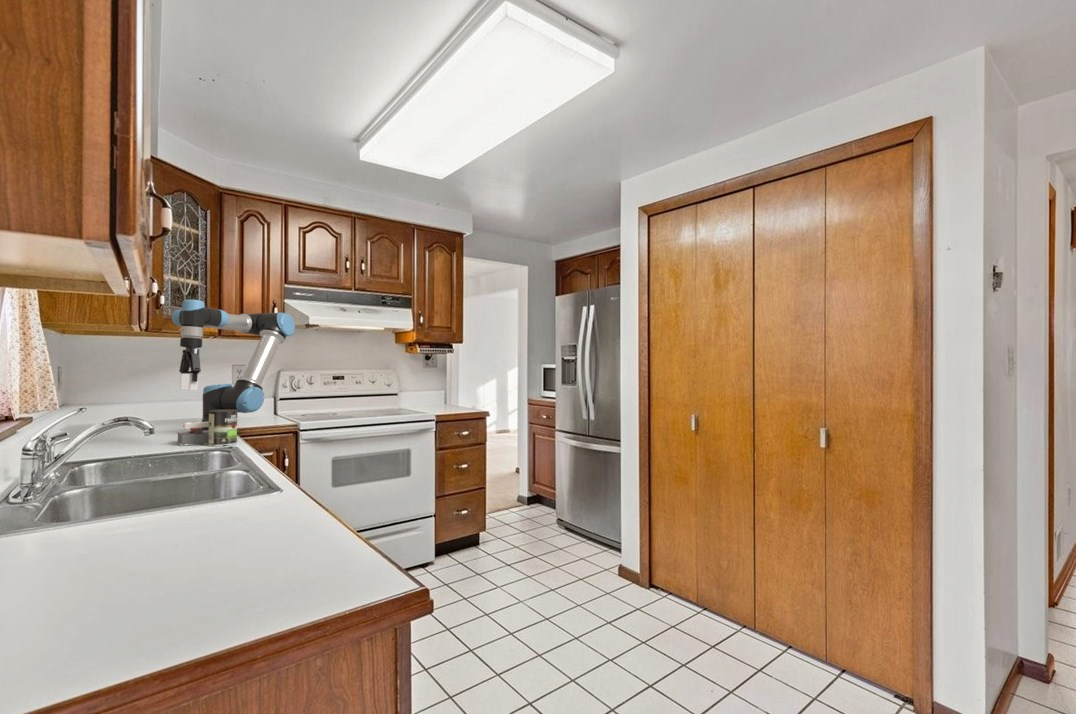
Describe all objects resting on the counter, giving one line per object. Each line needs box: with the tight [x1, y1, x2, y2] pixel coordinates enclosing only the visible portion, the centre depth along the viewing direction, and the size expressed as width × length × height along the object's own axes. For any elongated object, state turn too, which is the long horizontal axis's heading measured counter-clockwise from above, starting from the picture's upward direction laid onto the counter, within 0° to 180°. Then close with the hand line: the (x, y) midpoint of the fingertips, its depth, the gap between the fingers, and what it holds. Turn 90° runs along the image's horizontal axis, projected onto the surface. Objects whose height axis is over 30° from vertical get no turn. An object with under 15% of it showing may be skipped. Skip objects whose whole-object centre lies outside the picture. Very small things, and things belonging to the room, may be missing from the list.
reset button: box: [189, 427, 202, 433], centre depth 221 cm, size 4×4×4 cm
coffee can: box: [207, 409, 239, 447], centre depth 214 cm, size 10×10×14 cm
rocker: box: [182, 421, 209, 429], centre depth 217 cm, size 4×10×2 cm, turn 131°
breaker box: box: [177, 428, 209, 446], centre depth 219 cm, size 13×12×6 cm
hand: (188, 389), depth 213 cm, fingers open, 13 cm apart
